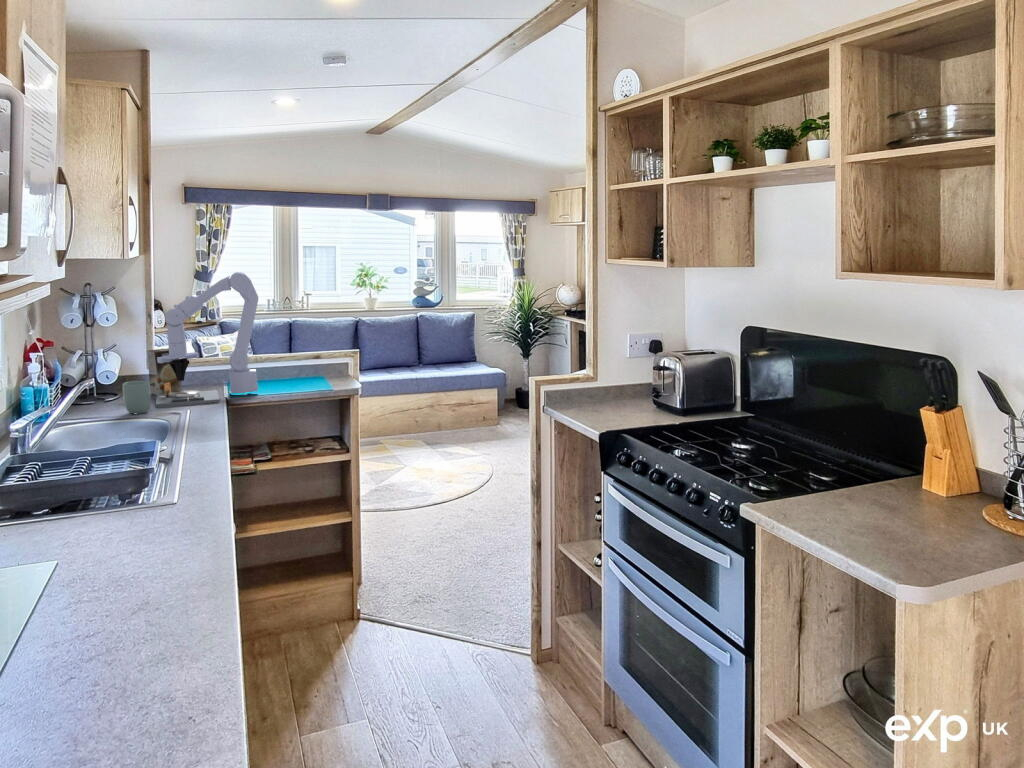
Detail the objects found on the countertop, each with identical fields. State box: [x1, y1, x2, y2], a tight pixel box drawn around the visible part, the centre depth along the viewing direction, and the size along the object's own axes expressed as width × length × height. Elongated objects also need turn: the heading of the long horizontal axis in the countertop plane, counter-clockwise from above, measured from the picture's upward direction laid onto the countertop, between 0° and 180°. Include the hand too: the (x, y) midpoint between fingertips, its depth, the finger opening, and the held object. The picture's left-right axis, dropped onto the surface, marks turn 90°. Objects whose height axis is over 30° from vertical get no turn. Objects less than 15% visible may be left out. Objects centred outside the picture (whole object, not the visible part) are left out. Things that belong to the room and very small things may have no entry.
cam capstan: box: [164, 383, 200, 398], centre depth 259 cm, size 12×8×4 cm, turn 87°
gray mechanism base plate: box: [155, 389, 221, 409], centre depth 259 cm, size 20×18×3 cm
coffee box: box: [146, 347, 183, 396], centre depth 271 cm, size 9×6×16 cm
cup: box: [121, 380, 152, 414], centre depth 239 cm, size 8×8×10 cm
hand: (180, 380), depth 262 cm, fingers closed
